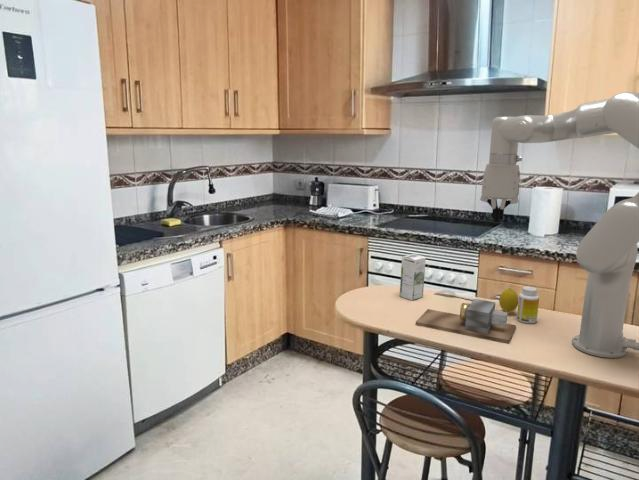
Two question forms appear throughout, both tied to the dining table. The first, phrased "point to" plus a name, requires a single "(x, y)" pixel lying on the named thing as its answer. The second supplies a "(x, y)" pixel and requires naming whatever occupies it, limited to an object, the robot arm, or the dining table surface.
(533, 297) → the supplement bottle
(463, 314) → the shaft
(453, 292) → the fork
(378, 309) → the dining table surface
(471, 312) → the bearing stand
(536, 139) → the robot arm
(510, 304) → the lemon
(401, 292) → the syrup box
